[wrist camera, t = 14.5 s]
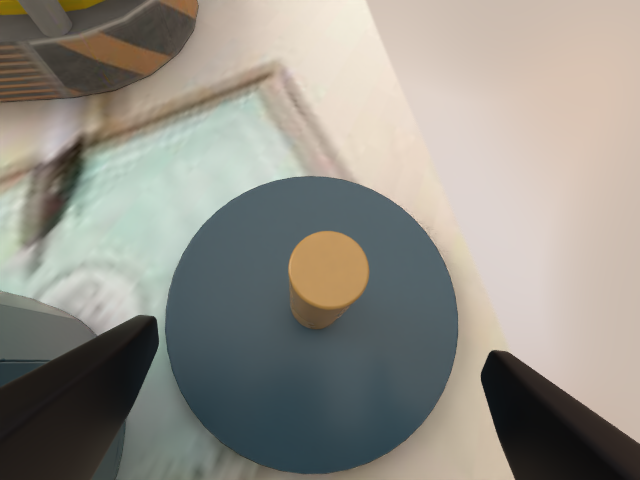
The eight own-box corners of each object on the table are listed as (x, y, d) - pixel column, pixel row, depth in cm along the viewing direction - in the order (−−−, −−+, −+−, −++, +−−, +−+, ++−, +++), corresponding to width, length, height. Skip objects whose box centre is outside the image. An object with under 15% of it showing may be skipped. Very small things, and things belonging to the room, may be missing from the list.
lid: (387, 531, 13) (480, 696, 7) (111, 372, 15) (-40, 380, 8) (480, 252, 18) (590, 188, 11) (264, 149, 19) (248, 37, 13)
